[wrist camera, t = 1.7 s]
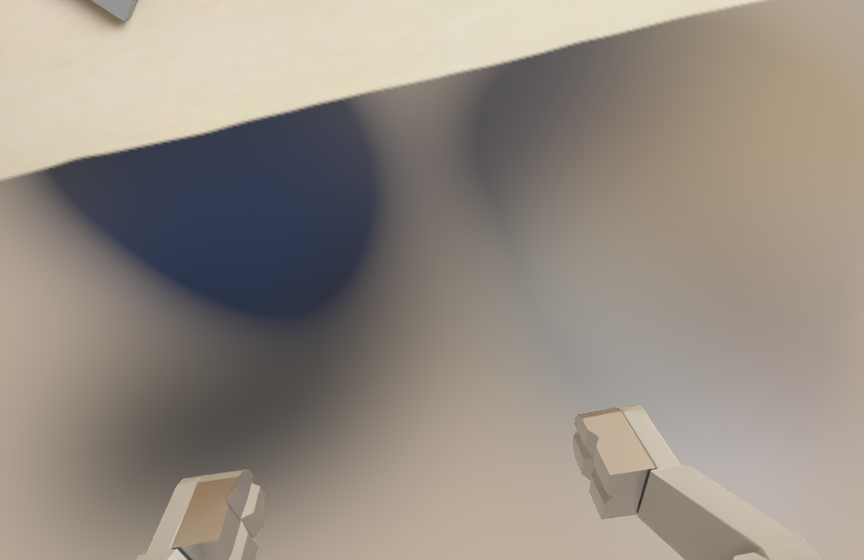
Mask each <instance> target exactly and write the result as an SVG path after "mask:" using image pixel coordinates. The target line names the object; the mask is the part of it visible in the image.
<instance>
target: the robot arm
mask: <svg viewBox="0 0 864 560" xmlns="http://www.w3.org/2000/svg"><path fill="white" fill-rule="evenodd" d="M575 426H576V428H577V430H578V431H577V432H576V433H575V434H574V436H573V447H574V453H575V457H576V460H577V463H578V466H579V468H580V470H581V473H582V474H583V475H584V476H585V477H587V478H588V479H589V480H591V484H590V494H591V496H592V498H593V500H594V503H595V505H596V508H597V510H598V512H599V515H600V517H601V519H606V518H614V517H621V516H629V515H636V514H638V517H639V518H640V519H641V520H642V521H643V522H644V523H645V524H646V525H647V526H649V527H650V528H651V529H652V530H653V531H654V532H655V533H656V534H657V535H658V536H660V537H661V538H662V539H663V540H664V541H665V542H666V543H667V544H668V545H669V546H671V547H672V548H673V549H674V550H675V551H676V552H677V553H678V554H679V555H680V556H682V557H683V558H684V559H685V560H822V559H821V558H820V557H819V556H818V554H817V553H816V552H815V551H814V549H813V548H812V547H811V546H810V544H809V543H808V542H807V541H805V540H804V539H802V538H801V537H799V536H798V535H796V534H795V533H793V532H791V531H790V530H788V529H787V528H785V527H784V526H782V525H781V524H779V523H777V522H776V521H774V520H772V519H771V518H769V517H768V516H767V515H765V514H763V513H762V512H760V511H759V510H757V509H756V508H754V507H752V506H751V505H749V504H748V503H746V502H745V501H743V500H742V499H740V498H739V497H737V496H735V495H734V494H732V493H731V492H729V491H728V490H726V489H725V488H723V487H722V486H720V485H718V484H717V483H715V482H714V481H712V480H711V479H709V478H708V477H706V476H704V475H703V474H701V473H700V472H698V471H697V470H695V469H693V468H692V467H690V466H689V465H687V464H684V465H680V464H679V462H678V461H677V459H676V458H675V456H674V455H673V453H672V452H671V450H670V448H669V447H668V446H667V444H666V442H665V441H664V440H663V438H662V437H661V435H660V433H659V432H658V430H657V429H656V427H655V426H654V424H653V423H652V421H651V420H650V418H649V417H648V416H647V414H646V412H645V411H644V409H643V408H642V407H640V406H639V405H631V406H626V407H621V408H612V409H606V410H600V411H594V412H589V413H583V414H578V415H577V416H576V417H575ZM253 477H254V476H253V475H252V474H251V472H250V471H249V470H248V469H245V470H239V471H232V472H225V473H219V474H212V475H204V476H198V477H192V478H186V479H182V481H181V482H180V483H179V484H178V485H177V486H176V488H175V491H174V493H173V495H172V497H171V499H170V502H169V504H168V506H167V508H166V511H165V513H164V515H163V517H162V520H161V522H160V524H159V526H158V528H157V531H156V533H155V535H154V537H153V540H152V542H151V544H150V546H149V549H148V551H147V553H146V554H141V555H139V556H138V557H137V558H136V559H135V560H255V557H256V553H257V549H258V545H257V543H256V541H255V539H254V537H255V536H256V534H257V533H258V532H259V531H260V529H261V528H262V527H263V523H264V518H265V513H266V500H265V496H264V492H263V491H262V489H261V487H259V486H257V485H255V484H253V483H252V480H253Z"/></svg>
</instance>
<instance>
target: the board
mask: <svg viewBox="0 0 864 560" xmlns="http://www.w3.org/2000/svg"><path fill="white" fill-rule="evenodd" d="M92 1H93V2H95V3H96V4H98V5H99V6H101V7H102V8H104V9H105V10H107V11H108V12H110V13H111V14H113V15H114V16H116V17H117V18H119V19H120V20H122V21H124V22H125V21H126V20H128V19H129V18H131V16H132V13H133V11H134V8H135V6H136V3H137V1H138V0H92Z"/></svg>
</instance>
